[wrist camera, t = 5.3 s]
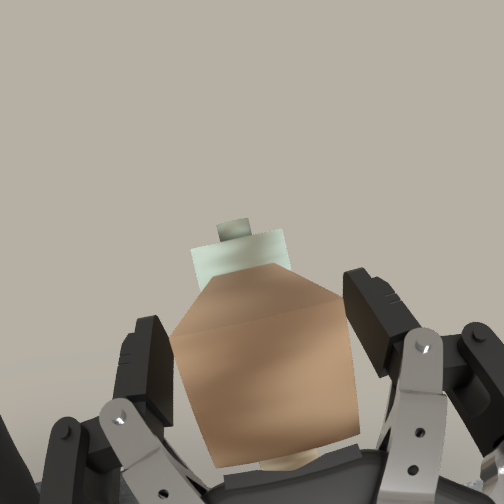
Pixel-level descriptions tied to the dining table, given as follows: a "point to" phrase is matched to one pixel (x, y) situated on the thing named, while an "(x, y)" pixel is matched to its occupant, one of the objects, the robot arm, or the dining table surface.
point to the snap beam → (263, 352)
